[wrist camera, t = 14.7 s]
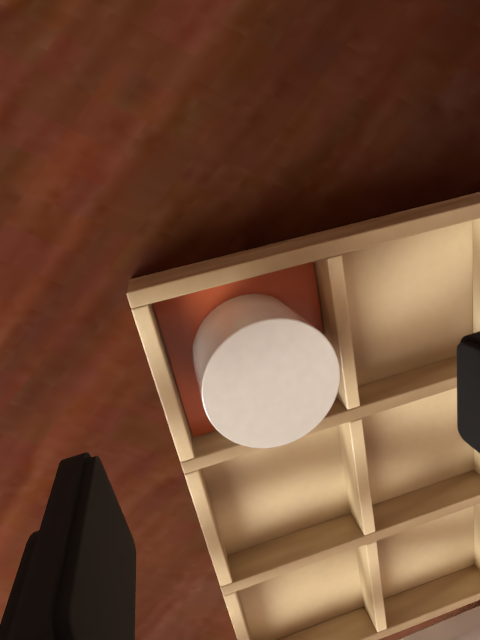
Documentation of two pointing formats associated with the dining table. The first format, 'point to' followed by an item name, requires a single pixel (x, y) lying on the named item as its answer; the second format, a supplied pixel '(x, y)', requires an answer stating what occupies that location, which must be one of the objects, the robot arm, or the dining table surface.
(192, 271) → the wooden compartment tray
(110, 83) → the dining table surface
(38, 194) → the dining table surface
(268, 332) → the white cylinder puck
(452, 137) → the dining table surface
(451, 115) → the dining table surface
